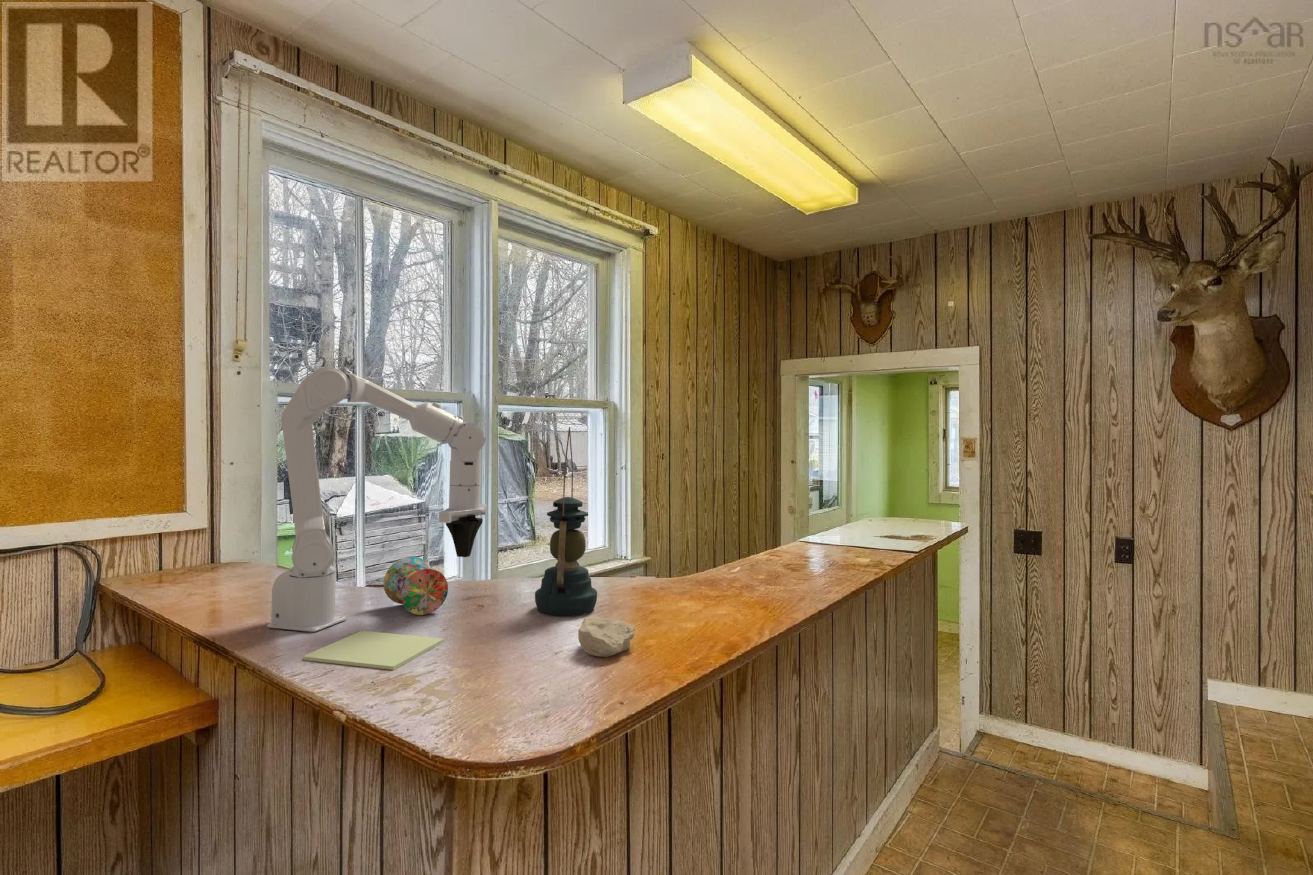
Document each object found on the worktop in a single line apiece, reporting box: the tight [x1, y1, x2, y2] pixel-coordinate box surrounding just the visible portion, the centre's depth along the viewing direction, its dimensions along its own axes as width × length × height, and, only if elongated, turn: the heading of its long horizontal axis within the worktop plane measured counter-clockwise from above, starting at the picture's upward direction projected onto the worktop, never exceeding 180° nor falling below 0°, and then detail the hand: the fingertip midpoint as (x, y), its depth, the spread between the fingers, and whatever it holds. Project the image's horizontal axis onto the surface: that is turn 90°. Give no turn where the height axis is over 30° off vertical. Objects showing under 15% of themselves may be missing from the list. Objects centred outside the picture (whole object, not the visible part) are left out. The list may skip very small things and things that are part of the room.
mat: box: [302, 630, 445, 671], centre depth 99 cm, size 15×13×1 cm
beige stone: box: [577, 615, 635, 658], centre depth 101 cm, size 9×6×10 cm
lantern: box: [534, 426, 598, 618], centre depth 124 cm, size 14×12×35 cm
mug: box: [383, 556, 449, 616], centre depth 122 cm, size 12×9×11 cm
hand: (463, 556), depth 123 cm, fingers closed
